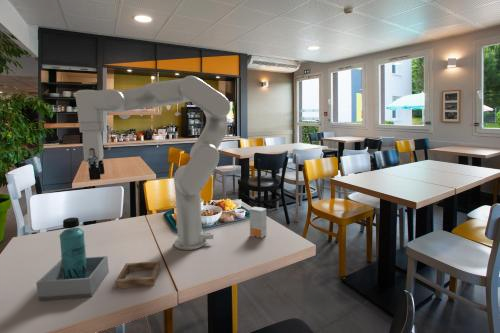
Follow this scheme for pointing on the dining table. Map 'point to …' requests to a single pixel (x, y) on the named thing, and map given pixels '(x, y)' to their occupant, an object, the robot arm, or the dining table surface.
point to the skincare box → (258, 221)
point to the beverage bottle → (73, 250)
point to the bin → (72, 281)
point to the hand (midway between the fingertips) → (97, 176)
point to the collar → (138, 282)
